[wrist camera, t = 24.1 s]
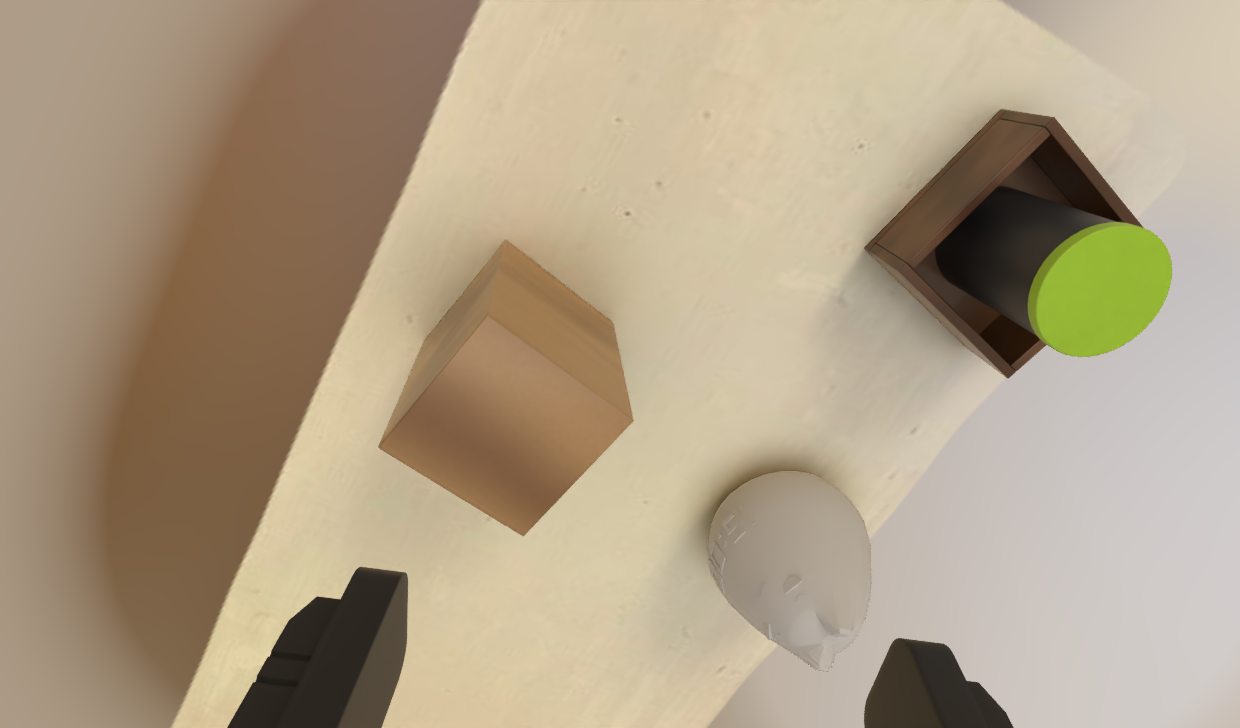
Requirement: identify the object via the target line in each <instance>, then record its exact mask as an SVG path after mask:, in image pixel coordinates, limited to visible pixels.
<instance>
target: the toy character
mask: <svg viewBox="0 0 1240 728" xmlns="http://www.w3.org/2000/svg"><path fill="white" fill-rule="evenodd" d="M708 555H709V565H710V571H711V575H712V577H713V578H714V580H715V582H716V584H717V586H718V587H719V589H720V591H721V592H722V594H723V595H724V597H725V598H726V599H727V601H728V602H729V603H730V605H731V606H732V607H733V608H734V609H735V610H736V611H737V612H739V613H740V614H741V615H742V616H743V617H744V618H745V619H746V620H747V621H748V622H749V623H750V624H751V625H752V626H754V627H755V628H756V629H757V630H759V631H760V632H761V633H762V634H764V635H765V636H766V637H767V638H768V639H769V640H770V639H771V640H772V641H774V642H775V643H777V644H778V645H780V646H782V647H783V648H785V649H786V650H788V651H790V652H791V653H793V654H794V655H796V656H798V657H799V658H800V659H802V660H803V661H804V662H806V663H807V664H808V665H810V666H811V667H813V668H814V669H815V670H818V671H823V672H829V670H830V669H831V668H832V663H833V662H834V658H835V655H836V654H837V653H839V652H841V651H843V650H844V649H846V648H847V647H848V646H849V645H850V644H852V643H853V642H854V640H855V639H856V637H857V636H858V634H859V632H860V630H861V627H862V625H863V623H864V621H865V619H866V615H867V611H868V606H869V600H870V593H871V545H870V541H869V537H868V534H867V530H866V527H865V523H864V520H863V518H862V517H861V515H860V513H859V512H858V510H857V509H856V507H855V506H854V504H853V503H852V502H851V500H850V499H849V498H848V497H847V496H846V495H845V494H844V493H843V492H842V491H841V490H839V489H838V488H836V487H835V486H833V485H831V484H830V483H828V482H827V481H825V480H823V479H822V478H820V477H818V476H815V475H812V474H810V473H806V472H799V471H778V472H773V473H767V474H764V475H761V476H759V477H756V478H753V479H751V480H750V481H748V482H746V483H744V484H742V485H741V486H739V487H738V488H737V489H736V490H734V491H733V492H732V493H731V494H729V496H728V497H727V498H726V499H725V500H724V501H723V502H722V503H721V505H720V507H719V508H718V510H717V512H716V513H715V515H714V518H713V521H712V524H711V528H710V535H709V543H708Z"/></svg>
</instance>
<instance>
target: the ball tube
mask: <svg viewBox="0 0 1240 728" xmlns="http://www.w3.org/2000/svg"><path fill="white" fill-rule="evenodd" d="M935 254H936V261H937V265H938V267H939V270H940V271H941V273H942V275H943V276H944V277H945V278H946V280H948V281H949V282H950V283H951V284H953V285H955V286H956V287H958V288H959V289H961V290H963V291H964V292H966V293H968V294H969V295H971V296H972V297H974V298H976V299H977V300H979V301H981V302H982V303H984V304H986V305H987V306H989V307H990V308H992V309H994V310H995V311H997V312H999V313H1000V314H1002V315H1003V316H1005V317H1007V318H1008V319H1010V320H1012V321H1013V322H1015V323H1016V324H1018V325H1020V326H1021V327H1023V328H1025V329H1026V330H1028V331H1030V332H1031V333H1033V334H1034V335H1036V336H1038V337H1039V339H1040V340H1042V341H1043V342H1044V343H1045V344H1047V345H1048V346H1050V347H1051V348H1053V349H1055V350H1056V351H1058V352H1061V353H1063V354H1066V355H1070V356H1077V357H1088V356H1095V355H1100V354H1104V353H1107V352H1109V351H1112V350H1115V349H1117V348H1119V347H1121V346H1123V345H1124V344H1126V343H1127V342H1129V341H1131V340H1132V339H1133V338H1135V337H1136V336H1137V335H1138V334H1140V333H1141V332H1142V331H1143V330H1144V329H1145V328H1146V327H1147V326H1148V325H1149V324H1150V322H1151V321H1152V320H1153V319H1154V318H1155V316H1156V315H1157V313H1158V312H1159V310H1160V309H1161V307H1162V305H1163V303H1164V301H1165V299H1166V297H1167V294H1168V291H1169V288H1170V284H1171V278H1172V263H1171V259H1170V254H1169V252H1168V250H1167V248H1166V246H1165V245H1164V243H1163V242H1162V240H1161V239H1160V238H1158V237H1157V235H1155V234H1154V233H1152V232H1151V231H1149V230H1147V229H1145V228H1142V227H1139V226H1136V225H1132V224H1129V223H1123V222H1116V221H1113V220H1109V219H1106V218H1103V217H1100V216H1097V215H1094V214H1091V213H1088V212H1085V211H1082V210H1079V209H1075V208H1072V207H1069V206H1066V205H1063V204H1060V203H1057V202H1054V201H1051V200H1048V199H1044V198H1041V197H1038V196H1035V195H1032V194H1029V193H1026V192H1023V191H1020V190H1017V189H1013V188H1010V187H1003V186H999V187H997V188H996V189H995V190H994V191H993V192H992V193H991V194H990V195H989V196H988V197H987V198H986V199H985V200H984V201H983V202H981V203H980V204H979V205H978V206H977V207H976V208H975V209H974V210H973V211H972V212H971V213H970V214H969V215H968V216H967V217H966V218H965V219H964V220H963V221H962V222H961V223H960V224H959V225H958V226H957V227H956V228H955V229H954V230H953V231H952V232H951V233H950V234H949V235H948V236H947V237H946V238H945V239H944V240H943V241H942V242H941V243H940V244H939V245H938V246H937V247H936V248H935Z"/></svg>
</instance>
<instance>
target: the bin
mask: <svg viewBox="0 0 1240 728" xmlns="http://www.w3.org/2000/svg"><path fill="white" fill-rule="evenodd" d="M999 186H1003V187H1010V188H1013V189H1017V190H1020V191H1023V192H1026V193H1029V194H1032V195H1035V196H1038V197H1041V198H1044V199H1048V200H1051V201H1054V202H1057V203H1060V204H1063V205H1066V206H1069V207H1072V208H1075V209H1079V210H1082V211H1085V212H1088V213H1091V214H1094V215H1097V216H1100V217H1103V218H1106V219H1109V220H1113V221H1116V222H1123V223H1129V224H1132V225H1136V226H1139V227H1142V225H1141V224H1140V223H1139V222H1138V220H1137V219H1136V218H1135V217H1134V215H1133V214H1132V213H1131V212H1130V210H1129V209H1128V208H1127V207H1126V205H1125V204H1124V203H1123V202H1122V201H1121V199H1120V198H1119V197H1118V196H1117V194H1116V193H1115V192H1114V191H1113V189H1112V188H1111V187H1110V186H1109V184H1108V183H1107V182H1106V181H1105V179H1104V178H1103V177H1102V176H1101V175H1100V173H1099V172H1098V171H1097V170H1096V168H1095V167H1094V166H1093V165H1092V163H1091V162H1090V161H1089V160H1088V158H1087V157H1086V156H1085V155H1084V153H1083V152H1082V151H1081V150H1080V149H1079V147H1078V146H1077V145H1076V144H1075V142H1074V141H1073V140H1072V139H1071V137H1070V136H1069V135H1068V134H1067V132H1066V131H1065V130H1064V129H1063V128H1062V126H1061V125H1060V124H1059V123H1058V121H1057V120H1056V119H1055V118H1054V117H1048V116H1042V115H1035V114H1029V113H1022V112H1016V111H1010V110H1003V109H1002V110H1000V111H999V112H998V113H997V114H996V115H995V116H994V117H993V118H992V119H991V120H990V121H989V122H988V123H987V124H986V125H985V126H984V127H983V129H982V130H981V131H980V132H979V133H978V134H977V135H976V136H975V137H974V138H973V139H972V140H971V141H970V142H969V143H968V144H967V145H966V146H965V147H964V148H963V149H962V150H961V151H960V152H959V153H958V154H957V155H956V156H955V157H954V158H953V159H952V160H951V161H950V162H949V163H948V164H947V165H946V166H945V167H944V168H943V169H942V170H941V171H940V172H939V173H938V174H937V175H936V176H935V177H934V178H933V179H932V180H931V181H930V182H929V183H928V184H927V185H926V186H925V187H924V188H923V189H922V190H921V191H920V192H919V193H918V194H917V195H916V196H915V197H914V199H913V200H912V201H911V202H910V203H909V204H908V205H907V206H906V207H905V208H904V209H903V210H902V211H901V212H900V213H899V214H898V215H897V216H896V217H895V218H894V219H893V220H892V221H891V222H890V223H889V224H888V225H887V226H886V227H885V228H884V229H883V230H882V231H881V232H880V233H879V234H878V235H877V236H876V237H875V238H874V239H873V240H872V241H871V242H870V243H869V244H868V245H867V246H866V247H865V250H866V251H867V252H868V253H869V254H871V255H872V256H873V257H874V258H875V259H876V260H877V261H878V262H879V263H880V264H881V265H882V266H883V267H884V268H885V269H886V270H887V271H888V272H889V273H890V274H891V275H892V276H893V277H894V278H895V279H896V280H897V281H898V282H899V283H900V284H901V285H902V286H903V287H904V288H905V289H907V290H908V291H909V292H910V293H911V294H912V295H913V296H914V297H915V298H916V299H917V300H918V301H919V302H920V303H921V304H922V305H923V306H924V307H925V308H926V309H927V310H928V311H929V312H930V313H931V314H932V315H933V316H934V317H935V318H936V319H937V320H938V321H939V322H940V323H941V324H943V325H944V326H945V327H946V328H947V329H948V330H949V331H950V332H951V333H952V334H953V335H954V336H955V337H956V338H957V339H958V340H959V341H960V342H961V343H962V344H963V345H964V346H965V347H966V348H967V349H969V350H970V351H971V352H973V353H974V354H975V355H977V356H978V357H980V358H981V359H982V360H984V361H985V362H986V363H988V364H989V365H990V366H992V367H993V368H994V369H996V370H997V371H998V372H1000V373H1001V374H1002V375H1004V376H1005V377H1006V378H1010V376H1012V375H1013V374H1014V373H1015V372H1016V371H1017V370H1019V369H1020V368H1021V367H1022V366H1023V365H1024V364H1025V363H1026V362H1027V361H1029V360H1030V359H1031V358H1032V357H1033V356H1034V355H1035V354H1037V353H1038V352H1039V351H1040V350H1041V349H1042V348H1043V347H1045V346H1046V345H1047V344H1045V343H1044V342H1043V341H1042V340H1040V339H1039V337H1038V336H1036V335H1034V334H1033V333H1031V332H1030V331H1028V330H1026V329H1025V328H1023V327H1021V326H1020V325H1018V324H1016V323H1015V322H1013V321H1012V320H1010V319H1008V318H1007V317H1005V316H1003V315H1002V314H1000V313H999V312H997V311H995V310H994V309H992V308H990V307H989V306H987V305H986V304H984V303H982V302H981V301H979V300H977V299H976V298H974V297H972V296H971V295H969V294H968V293H966V292H964V291H963V290H961V289H959V288H958V287H956V286H955V285H953V284H951V283H950V282H949V281H948V280H946V278H945V277H944V276H943V275H942V273H941V271H940V270H939V267H938V265H937V261H936V254H935V248H936V247H937V246H938V245H939V244H940V243H941V242H942V241H943V240H944V239H945V238H946V237H947V236H948V235H949V234H950V233H951V232H952V231H953V230H954V229H955V228H956V227H957V226H958V225H959V224H960V223H961V222H962V221H963V220H964V219H965V218H966V217H967V216H968V215H969V214H970V213H971V212H972V211H973V210H974V209H975V208H976V207H977V206H978V205H979V204H980V203H981V202H983V201H984V200H985V199H986V198H987V197H988V196H989V195H990V194H991V193H992V192H993V191H994V190H995V189H996V188H997V187H999ZM1142 228H1143V227H1142Z"/></svg>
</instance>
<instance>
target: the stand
mask: <svg viewBox="0 0 1240 728" xmlns="http://www.w3.org/2000/svg"><path fill="white" fill-rule="evenodd" d="M632 422H633V416H632V411H631V406H630V402H629V397H628V392H627V387H626V382H625V377H624V373H623V368H622V363H621V358H620V353H619V348H618V344H617V339H616V334H615V329H614V324H613V323H612V322H611V321H610V320H608V319H607V318H606V317H605V316H603V315H602V314H601V313H599V312H598V311H597V310H596V309H594V308H593V307H592V306H590V305H589V304H588V303H587V302H585V301H584V300H583V299H581V298H580V297H579V296H577V295H576V294H575V293H574V292H572V291H571V290H570V289H568V288H567V287H566V286H565V285H563V284H562V283H561V282H559V281H558V280H557V279H556V278H554V277H553V276H552V275H550V274H549V273H548V272H547V271H545V270H544V269H543V268H541V267H540V266H539V265H538V264H536V263H535V262H534V261H532V260H531V259H530V258H529V257H527V256H526V255H525V254H523V253H522V252H521V251H520V250H518V249H517V248H516V247H514V246H513V245H512V244H511V243H509V242H508V241H505V242H504V243H503V244H502V245H501V246H500V248H499V249H498V250H497V251H496V253H495V254H494V255H493V256H492V258H491V259H490V260H489V261H488V263H487V264H486V265H485V266H484V268H483V269H482V270H481V271H480V273H479V274H478V275H477V276H476V278H475V279H474V280H473V281H472V283H471V284H470V285H469V286H468V287H467V289H466V290H465V291H464V292H463V294H462V295H461V296H460V297H459V299H458V300H457V301H456V302H455V304H454V305H453V306H452V307H451V309H450V310H449V311H448V312H447V314H446V315H445V316H444V317H443V319H442V320H441V321H440V322H439V324H438V325H437V326H436V327H435V329H434V330H433V331H432V332H431V333H430V335H429V336H428V337H427V338H426V340H425V341H424V343H423V345H422V347H421V350H420V352H419V354H418V356H417V359H416V361H415V363H414V366H413V368H412V370H411V373H410V375H409V377H408V379H407V382H406V384H405V386H404V389H403V391H402V393H401V396H400V398H399V400H398V403H397V405H396V407H395V409H394V412H393V414H392V416H391V419H390V421H389V423H388V426H387V428H386V430H385V432H384V435H383V437H382V439H381V442H380V444H379V448H380V449H381V450H383V451H385V452H386V453H388V454H389V455H391V456H393V457H394V458H396V459H398V460H399V461H401V462H403V463H404V464H406V465H407V466H409V467H411V468H412V469H414V470H416V471H417V472H419V473H421V474H422V475H424V476H425V477H427V478H429V479H430V480H432V481H434V482H435V483H437V484H438V485H440V486H442V487H443V488H445V489H447V490H448V491H450V492H452V493H453V494H455V495H456V496H458V497H460V498H461V499H463V500H465V501H466V502H468V503H470V504H471V505H473V506H474V507H476V508H478V509H479V510H481V511H483V512H484V513H486V514H488V515H489V516H491V517H492V518H494V519H496V520H497V521H499V522H501V523H502V524H504V525H505V526H507V527H509V528H510V529H512V530H514V531H515V532H517V533H519V534H520V535H522V536H524V535H525V534H526V533H527V532H528V531H529V530H530V529H531V528H532V527H533V526H534V525H535V524H536V523H537V522H538V521H539V519H540V518H541V517H542V516H543V515H544V514H545V513H546V512H547V511H548V510H549V509H550V508H551V507H552V506H553V505H554V504H555V503H556V502H557V501H558V500H559V498H560V497H561V496H562V495H563V494H564V493H565V492H566V491H567V490H568V489H569V488H570V487H571V486H572V485H573V484H574V483H575V482H576V481H577V480H578V479H579V477H580V476H581V475H582V474H583V473H584V472H585V471H586V470H587V469H588V468H589V467H590V466H591V465H592V464H593V463H594V462H595V461H596V460H597V459H598V458H599V456H600V455H601V454H602V453H603V452H604V451H605V450H606V449H607V448H608V447H609V446H610V445H611V444H612V443H613V442H614V441H615V440H616V439H617V438H618V437H619V435H620V434H621V433H622V432H623V431H624V430H625V429H626V428H627V427H628V426H629V425H630V424H631V423H632Z"/></svg>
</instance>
